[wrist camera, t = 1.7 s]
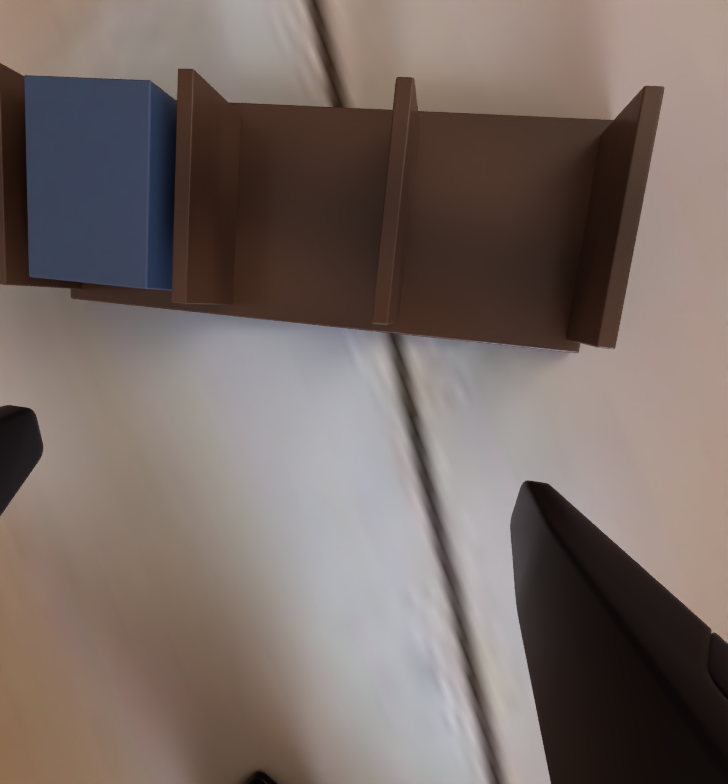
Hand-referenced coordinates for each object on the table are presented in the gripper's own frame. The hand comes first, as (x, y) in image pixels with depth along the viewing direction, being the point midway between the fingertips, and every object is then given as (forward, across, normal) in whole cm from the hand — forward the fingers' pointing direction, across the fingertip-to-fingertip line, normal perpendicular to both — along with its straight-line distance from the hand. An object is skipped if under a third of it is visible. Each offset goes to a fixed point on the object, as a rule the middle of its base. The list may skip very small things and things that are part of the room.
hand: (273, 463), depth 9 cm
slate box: (+15, +10, -2) cm, 18 cm away
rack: (+16, +2, -2) cm, 16 cm away
